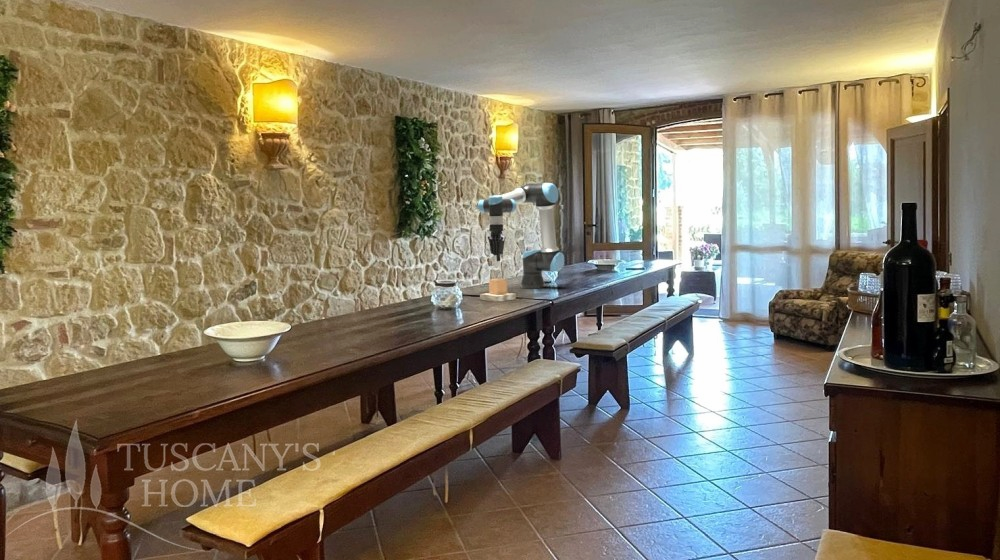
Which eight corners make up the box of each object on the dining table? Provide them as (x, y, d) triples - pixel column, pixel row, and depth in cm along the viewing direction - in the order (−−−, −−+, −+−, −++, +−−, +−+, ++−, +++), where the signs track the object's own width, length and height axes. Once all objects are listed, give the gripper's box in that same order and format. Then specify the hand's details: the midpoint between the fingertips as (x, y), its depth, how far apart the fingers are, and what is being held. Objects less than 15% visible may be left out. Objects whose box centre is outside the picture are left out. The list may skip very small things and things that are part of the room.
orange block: (499, 292, 391) (498, 278, 390) (507, 293, 385) (506, 279, 385) (489, 294, 386) (488, 279, 385) (497, 295, 381) (497, 280, 380)
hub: (499, 296, 396) (499, 284, 395) (515, 299, 385) (515, 286, 384) (480, 299, 387) (479, 287, 386) (496, 301, 376) (496, 289, 376)
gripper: (483, 224, 384) (484, 266, 387) (498, 224, 374) (499, 268, 377) (493, 223, 389) (494, 265, 391) (509, 223, 379) (510, 267, 381)
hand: (497, 266), depth 384 cm, fingers closed
